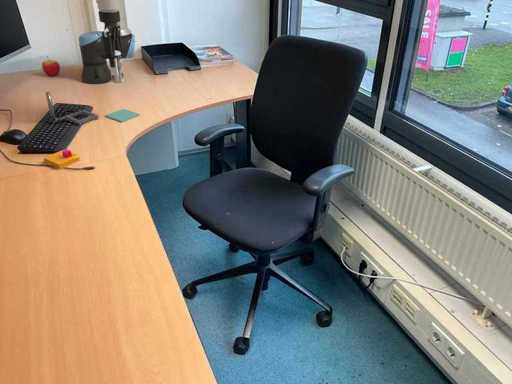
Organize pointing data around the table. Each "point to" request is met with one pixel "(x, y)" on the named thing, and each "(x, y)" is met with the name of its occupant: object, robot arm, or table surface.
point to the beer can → (120, 70)
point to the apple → (51, 67)
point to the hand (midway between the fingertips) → (117, 73)
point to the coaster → (122, 115)
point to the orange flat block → (62, 159)
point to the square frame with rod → (51, 109)
